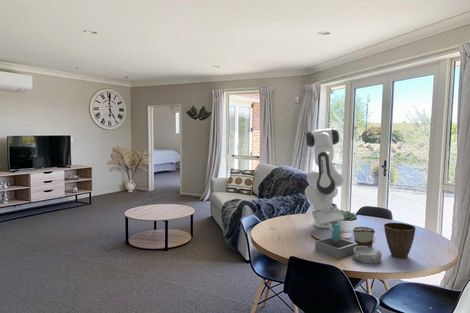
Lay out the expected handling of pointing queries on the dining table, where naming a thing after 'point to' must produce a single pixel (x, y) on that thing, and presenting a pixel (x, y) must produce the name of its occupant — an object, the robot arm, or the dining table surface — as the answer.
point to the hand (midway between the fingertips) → (337, 229)
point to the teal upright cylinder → (336, 232)
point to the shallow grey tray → (327, 247)
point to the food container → (363, 236)
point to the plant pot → (399, 238)
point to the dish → (366, 255)
